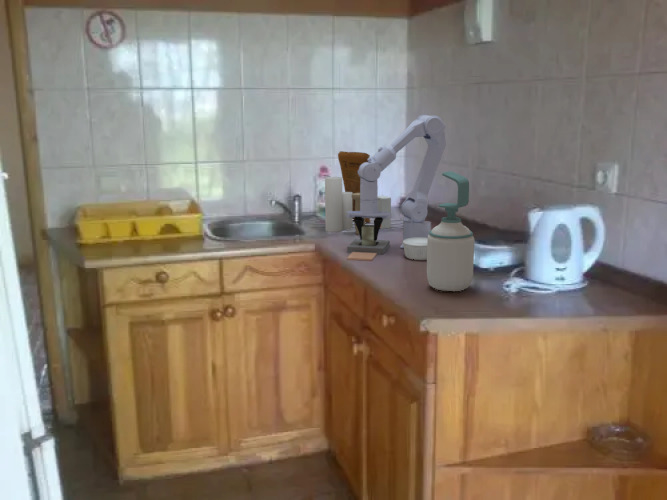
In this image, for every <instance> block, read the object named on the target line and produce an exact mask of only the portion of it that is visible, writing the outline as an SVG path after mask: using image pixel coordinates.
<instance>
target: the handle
mask: <svg viewBox="0 0 667 500" xmlns="http://www.w3.org/2000/svg"><path fill="white" fill-rule="evenodd" d="M352 198H353V199H355V211H360V193H354V194H352ZM364 225H366V223H365V218H364ZM354 228H355V229H354V230H355V235H358V236H360V235H359V231H358V228H357V226H356V224H355V223H354Z"/></svg>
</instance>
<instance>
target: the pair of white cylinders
mask: <svg viewBox="0 0 667 500" xmlns="http://www.w3.org/2000/svg"><path fill="white" fill-rule="evenodd" d="M324 208H325V210H324V211H325V212H324V213H325V218H324V220H325V221H324V222H325V224H324V225H325V232H329V233H340V232H343V230H344V229H345V230H344V231H347V230H346V229H350V230H352V229H353V228H354V227H353V220H352V218H347V212H348V211H352V192H345V191H343V178H342V176H328V177H327V176H325V177H324ZM352 227H353V228H352ZM351 228H352V229H351Z"/></svg>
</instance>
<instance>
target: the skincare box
mask: <svg viewBox="0 0 667 500" xmlns="http://www.w3.org/2000/svg"><path fill="white" fill-rule="evenodd" d="M378 212H388V213H391V214H392V198H391V197H390V196H386V195H378ZM386 228H387V229H391V228H392V218H391V219H383V222H382V224H381V226H380V229H381V230H385V229H386Z"/></svg>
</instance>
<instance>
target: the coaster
mask: <svg viewBox="0 0 667 500" xmlns="http://www.w3.org/2000/svg"><path fill="white" fill-rule="evenodd" d="M377 255H378V254H377V253H364V252H352V253H349V255H348V256H347V257H346V260H347V261H349V260H350V261H363V262H364V261H366V262H372V261H373V260H374V259H375V258H376V256H377Z"/></svg>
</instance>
